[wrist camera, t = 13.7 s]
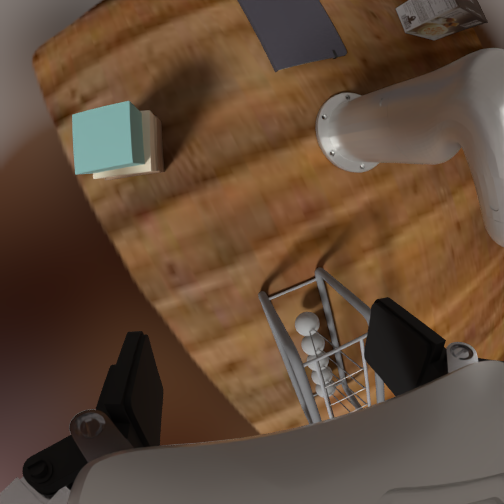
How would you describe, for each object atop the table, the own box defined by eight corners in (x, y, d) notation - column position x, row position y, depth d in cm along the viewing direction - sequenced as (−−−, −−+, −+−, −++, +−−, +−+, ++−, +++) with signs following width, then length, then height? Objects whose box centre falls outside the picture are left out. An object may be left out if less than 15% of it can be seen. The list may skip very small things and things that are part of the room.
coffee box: (424, 16, 34) (475, -5, 19) (434, 41, 36) (489, 23, 21) (394, 7, 33) (445, -22, 18) (404, 33, 35) (461, 8, 20)
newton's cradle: (255, 287, 43) (289, 357, 27) (317, 262, 44) (379, 313, 27) (301, 406, 53) (331, 470, 36) (346, 385, 54) (385, 443, 37)
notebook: (221, -24, 29) (274, 73, 35) (222, -29, 27) (277, 70, 34) (290, -34, 29) (344, 57, 36) (292, -38, 28) (348, 54, 35)
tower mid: (156, 118, 30) (149, 109, 25) (158, 171, 32) (151, 171, 27) (105, 125, 29) (91, 119, 24) (107, 177, 31) (93, 178, 26)
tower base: (161, 122, 34) (156, 115, 30) (164, 171, 36) (159, 171, 32) (113, 130, 33) (101, 125, 29) (116, 178, 35) (105, 180, 31)
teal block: (141, 112, 25) (129, 100, 20) (144, 164, 27) (132, 162, 21) (92, 123, 24) (72, 114, 19) (96, 173, 26) (75, 174, 21)
